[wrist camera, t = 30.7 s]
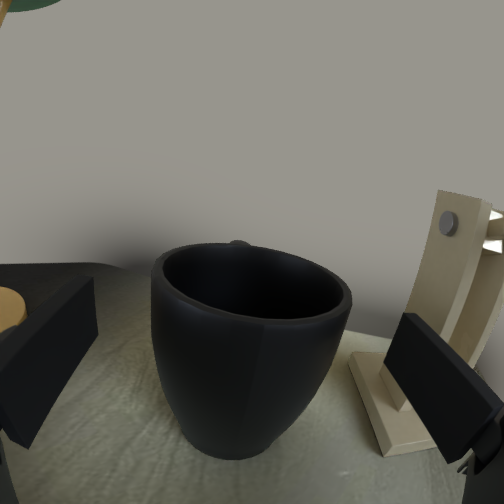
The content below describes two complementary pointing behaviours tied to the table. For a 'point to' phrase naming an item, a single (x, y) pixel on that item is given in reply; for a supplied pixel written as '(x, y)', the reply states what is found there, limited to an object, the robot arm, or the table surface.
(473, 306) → the beige wooden upright stand
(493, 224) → the switch
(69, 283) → the robot arm
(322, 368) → the mug
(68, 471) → the table surface
